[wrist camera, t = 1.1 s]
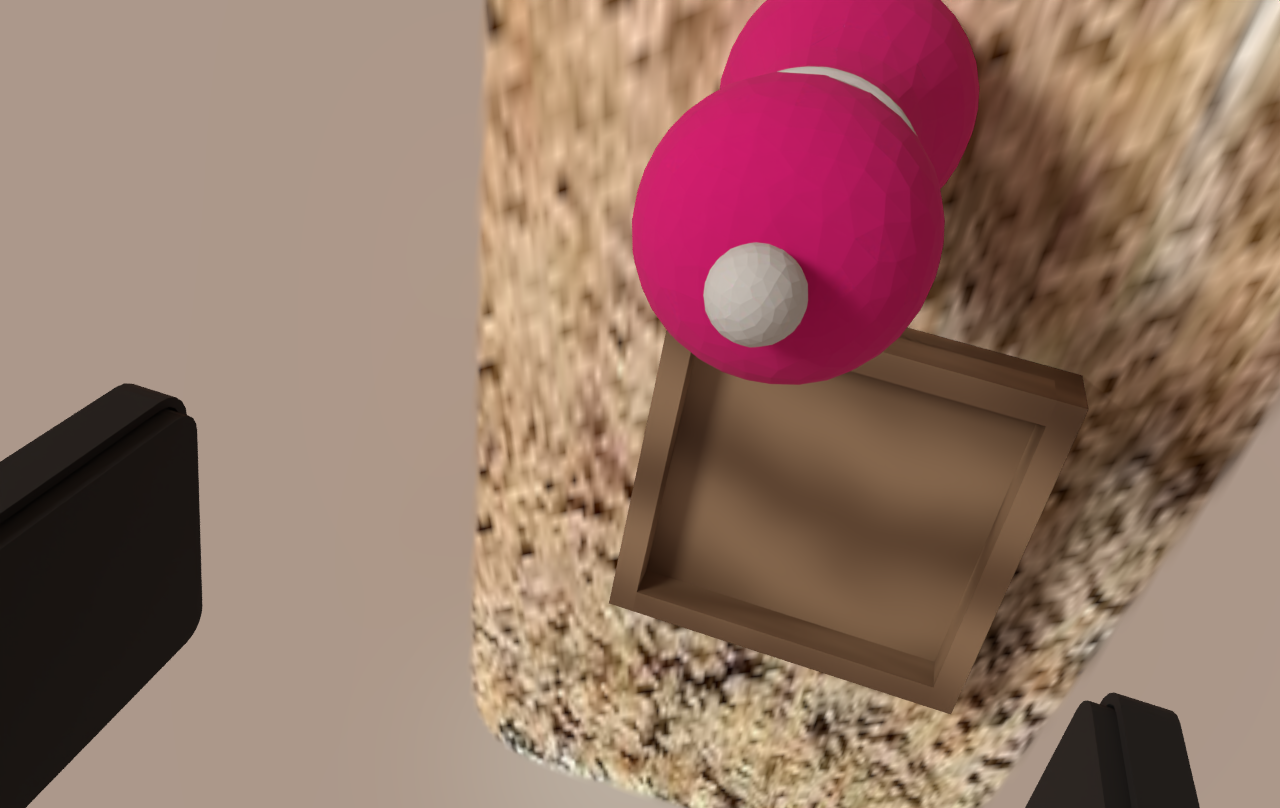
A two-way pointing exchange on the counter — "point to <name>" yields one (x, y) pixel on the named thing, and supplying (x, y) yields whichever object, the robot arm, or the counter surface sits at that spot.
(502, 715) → the counter surface
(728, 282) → the pepper mill
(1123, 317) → the counter surface
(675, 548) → the tray
